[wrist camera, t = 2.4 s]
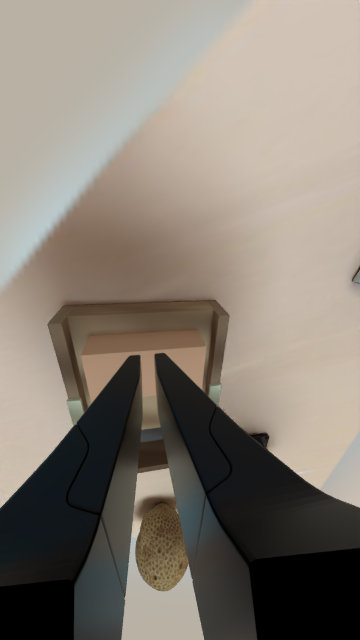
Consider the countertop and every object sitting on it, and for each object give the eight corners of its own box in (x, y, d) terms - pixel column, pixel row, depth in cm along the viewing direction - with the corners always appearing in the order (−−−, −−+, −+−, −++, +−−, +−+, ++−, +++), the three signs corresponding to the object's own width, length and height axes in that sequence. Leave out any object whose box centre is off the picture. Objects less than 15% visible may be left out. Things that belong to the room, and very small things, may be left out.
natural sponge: (169, 519, 42) (177, 599, 33) (127, 517, 39) (124, 606, 30) (191, 494, 39) (206, 575, 30) (148, 490, 36) (151, 579, 27)
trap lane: (201, 435, 31) (209, 463, 28) (96, 450, 29) (90, 484, 25) (216, 300, 22) (231, 316, 18) (62, 305, 19) (44, 325, 16)
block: (194, 369, 22) (201, 390, 20) (97, 378, 21) (91, 402, 18) (197, 329, 20) (206, 346, 17) (89, 335, 18) (80, 355, 16)
